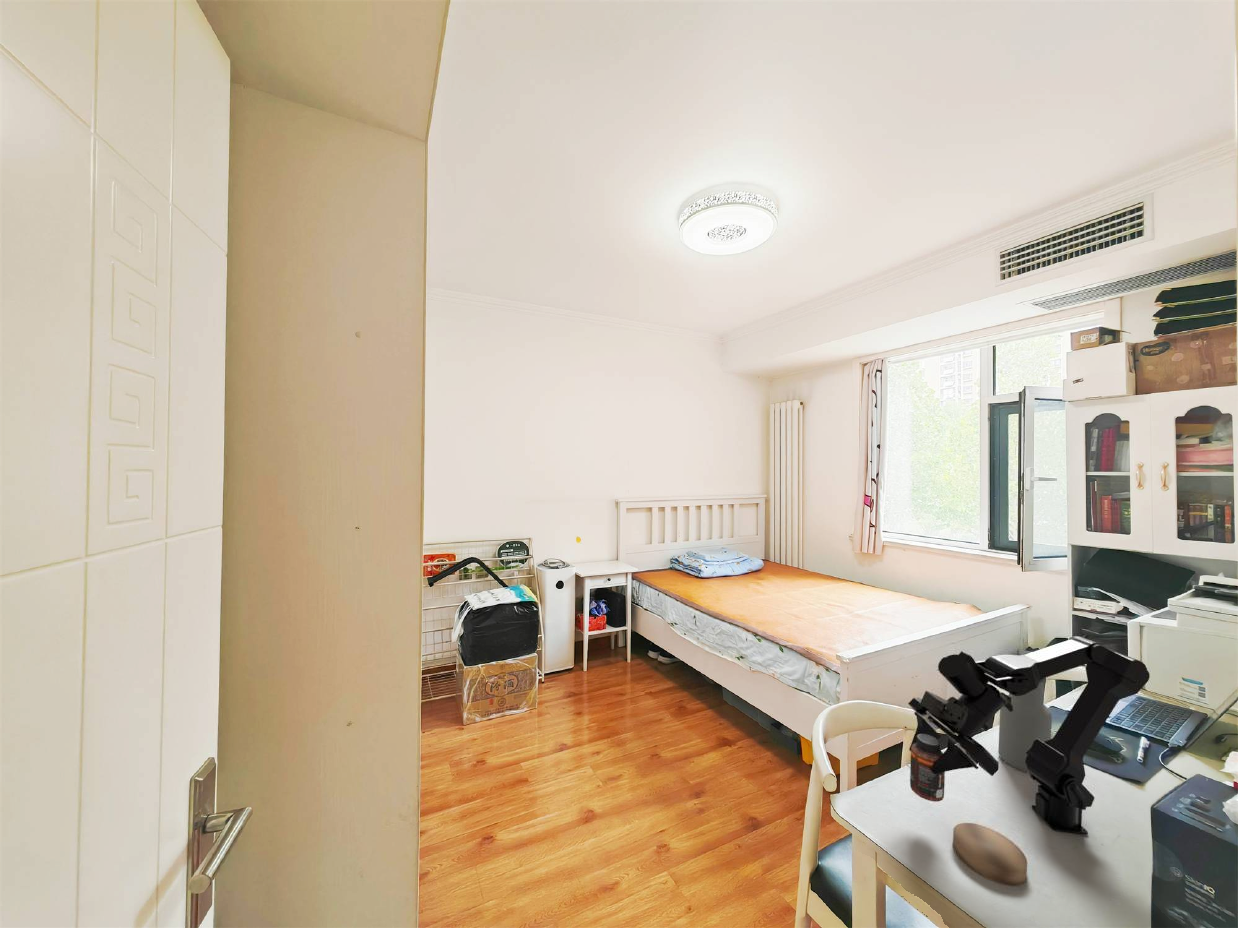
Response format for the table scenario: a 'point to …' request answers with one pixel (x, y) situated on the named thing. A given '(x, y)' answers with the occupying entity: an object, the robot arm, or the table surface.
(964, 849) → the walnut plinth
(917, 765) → the supplement bottle
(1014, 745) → the water bottle
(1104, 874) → the table surface
